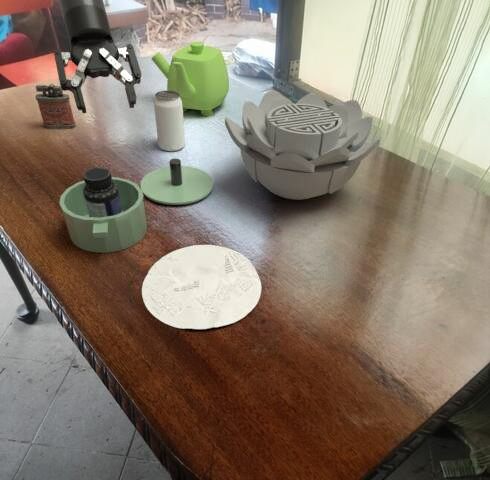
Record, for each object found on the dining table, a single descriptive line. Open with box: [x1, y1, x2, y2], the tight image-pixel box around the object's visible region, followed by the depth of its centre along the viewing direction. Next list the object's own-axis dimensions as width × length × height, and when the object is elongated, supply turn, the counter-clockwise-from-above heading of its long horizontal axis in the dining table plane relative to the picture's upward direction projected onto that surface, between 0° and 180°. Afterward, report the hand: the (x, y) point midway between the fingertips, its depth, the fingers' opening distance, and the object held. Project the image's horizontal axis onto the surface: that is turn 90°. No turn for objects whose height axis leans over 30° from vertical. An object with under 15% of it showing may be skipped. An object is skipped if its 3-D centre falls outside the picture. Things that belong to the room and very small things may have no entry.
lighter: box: [34, 83, 77, 130], centre depth 114 cm, size 8×3×10 cm, turn 94°
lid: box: [139, 158, 214, 206], centre depth 96 cm, size 16×16×6 cm
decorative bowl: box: [224, 89, 382, 201], centre depth 96 cm, size 30×30×15 cm
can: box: [153, 89, 186, 152], centre depth 107 cm, size 6×6×12 cm
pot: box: [58, 174, 148, 254], centre depth 85 cm, size 15×20×7 cm
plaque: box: [141, 244, 262, 330], centre depth 76 cm, size 20×20×2 cm
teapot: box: [151, 41, 230, 117], centre depth 123 cm, size 25×22×16 cm
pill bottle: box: [82, 166, 122, 218], centre depth 83 cm, size 6×6×11 cm
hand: (108, 108), depth 81 cm, fingers open, 8 cm apart
